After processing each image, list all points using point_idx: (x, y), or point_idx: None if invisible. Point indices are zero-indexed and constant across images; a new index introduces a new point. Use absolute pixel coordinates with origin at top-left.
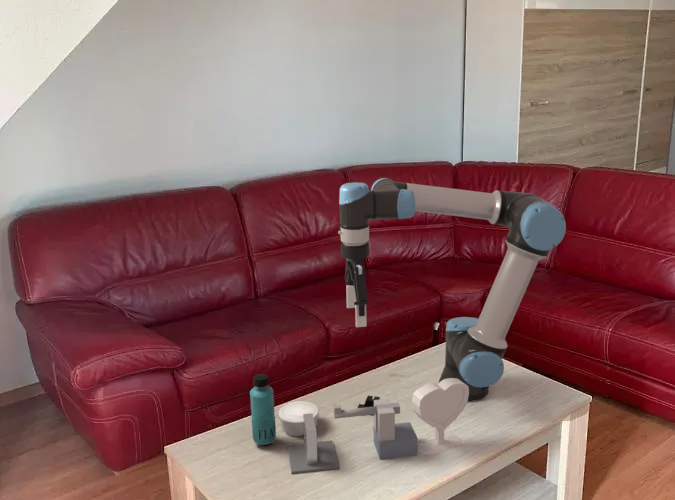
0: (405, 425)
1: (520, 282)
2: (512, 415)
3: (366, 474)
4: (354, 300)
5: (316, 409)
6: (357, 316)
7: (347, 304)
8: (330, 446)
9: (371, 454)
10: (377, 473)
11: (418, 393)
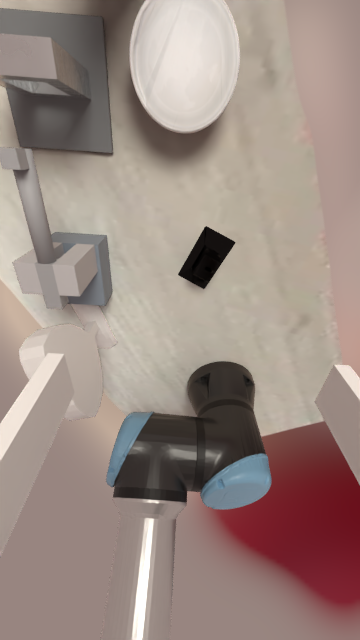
0: (95, 296)
1: None
2: (148, 405)
3: (11, 197)
4: (340, 431)
5: (180, 126)
6: (13, 413)
7: (346, 383)
8: (89, 143)
9: (70, 222)
10: (16, 217)
11: (35, 354)
